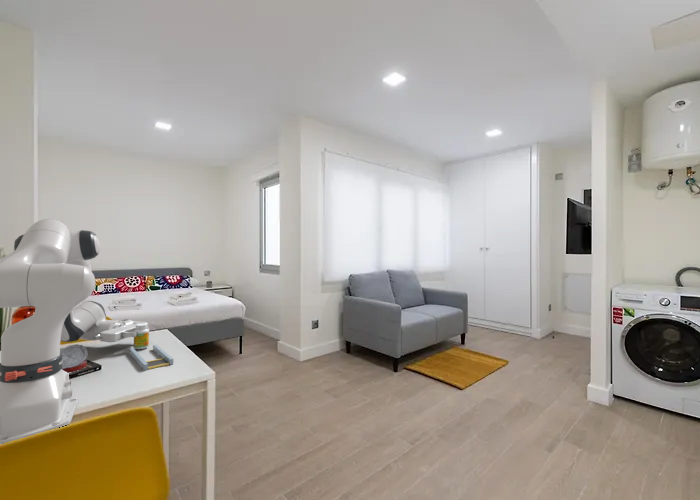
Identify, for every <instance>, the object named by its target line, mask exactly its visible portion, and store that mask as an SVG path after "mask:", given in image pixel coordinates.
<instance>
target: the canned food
mask: <svg viewBox="0 0 700 500" xmlns="http://www.w3.org/2000/svg"><path fill="white" fill-rule="evenodd" d="M60 353H61V354H62V358H63V362H62V370H64V371H65V372H73V371H77V370H80V369H82V368H84V367H86V366H87V367H88V364H87V363H88V360H87V358H88V353H89V352H88V350H87V348H86V347H85V346H84V345H83V344H72V345H68V346H66V347H63V348H60Z"/></svg>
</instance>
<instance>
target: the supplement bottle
mask: <svg viewBox="0 0 700 500" xmlns="http://www.w3.org/2000/svg"><path fill="white" fill-rule="evenodd" d="M146 328H147V324H137V325H136V330H135V331H134V332H138V336H136V337H133V348H134V349H135V350H142V349H147V348H148V347H149V346H150V345H149V343H150V341H149V340H150V336H149V335H150V331H149V330H148V329H146Z"/></svg>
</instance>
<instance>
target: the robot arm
mask: <svg viewBox="0 0 700 500" xmlns="http://www.w3.org/2000/svg"><path fill="white" fill-rule="evenodd" d="M100 250H101V242H100V239H99V238H98V237H97V234H96V233H95V232H93V231H90V230H84V229H83V230H82V229H81V230H80V231H79V230H70V229H69V228H68V226H67V225H66V224H65V223H64V222H61V221H60V220H58V219H53V218H44V219H41V220H38V221H36V222H35V223H33V224H32V225H31V226H30V227H28V229H27V230H26V231H25V233H24V234H21V235H19V236H18V237H17V238H16V239H15V240H14V245H13V251H12V252H11V253H9V254H7V255H5V256H4V257H1V258H0V309H5V308H6V309H7V308H19V307H20V308H21V307H22V308H23V307H34V308H35V310H34V313H33V314H32V315H31V316H29V317H26V318H23V319H21V320H19V321H17V322H15V323H12V324H11V325H10V326H8V327H7V328H5V330H4V331H3V332H2V334H1V337H0V343H1V344H0V444H3V443H6V442H9V441H13V440H17V439H20V438H24V437H27V436H31V435H34V434H37V433H40V432H44V431H47V430H51V429H55V428H58V427H61V428H63V427H62V426H64V427H65V425H66V426H67V425H70V423H71V422H72V419H73V416H74V414H75V412H76V409H77V406H78V404H79V397H78V396H73V389H70V386H71V385H72V381H71V380H70V376H69V373H67V372H65V371H64V370H62V362H63V358H62V354H61V353H60V350H61V342H62V343H63V342H64V343H71V342H76V341H79V340H84V341H85V340H86V341H93V342H94V341H95V342H96V341H100V342H104V343H116V342H119V341H121V340H125V339H127V338H134V337H136V336H138V332H134V331H135V330H136V325H137V324H147V328H146V329H148V330H149V332H150V331H151V330H150V327H149V323H148V322H147V321H142V320H141V321H140V320H132V319H130V318H129V319H121V320H120V319H114V320H113V319H111V320H110V319H107V315H106V310H105V308H104V306H103V305H102V304H101V303H99V302H96V301H93V300H87V299H88V298H89V297H90V296H91V295H92V294H93V292H94V290H95V287H96V278H95V277H96V276H95V274H94V273H93V270H92V269H93V268H92V263H91V260H93V259H95V258H96V257H97V256H98V255H99V254H100V253H99V252H100ZM3 445H4V444H3Z"/></svg>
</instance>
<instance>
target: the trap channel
mask: <svg viewBox="0 0 700 500" xmlns="http://www.w3.org/2000/svg"><path fill="white" fill-rule="evenodd" d="M152 350H153V351H154V352H155V353H156V354H157V355H158V356H159V355H160V356H159V357H160V358H157V359H152V360H145V359H144V358H143V357H142V356H141V354H140V353H139V352H138V351H137V349H135V348H134V347H132V348H129V355H130V356H131V357H132V358H133V359H134V360H135V362H136V363H137V364H138V365H139V366H140V367H141V369H142V370H143V371H148V370H151V369H156V368H162V367H165V365H166V366H170V365H171V364H172V365H174V358H173V357H172V356H171V355H170V354H168V353H167V352H166V351H165V350H164V349H163V348H161V347H160V346H159V345H158V344H153V345H152ZM169 364H170V365H169ZM161 366H162V367H161Z"/></svg>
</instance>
